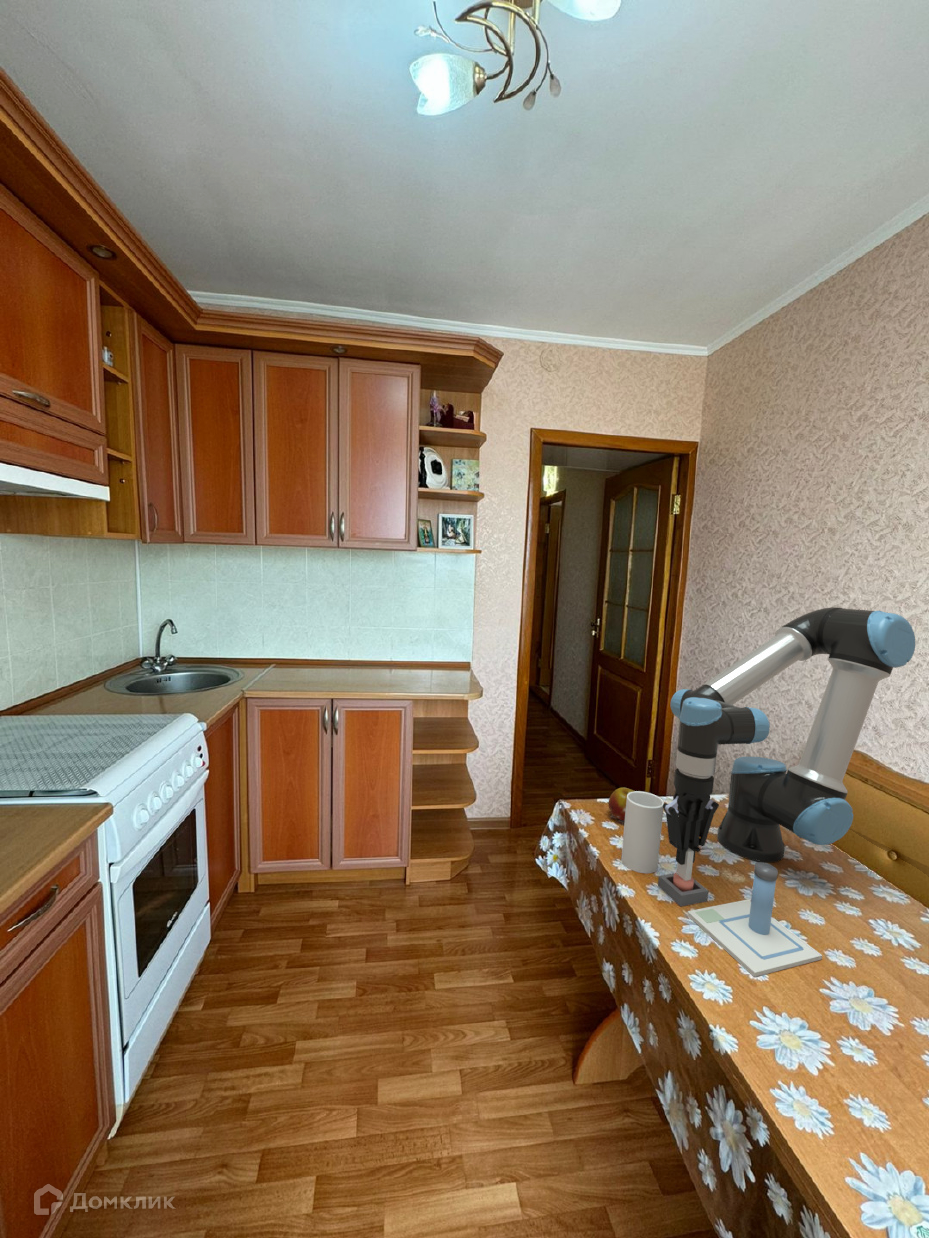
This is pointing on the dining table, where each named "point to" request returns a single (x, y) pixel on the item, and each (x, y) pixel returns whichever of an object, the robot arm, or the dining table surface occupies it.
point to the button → (683, 883)
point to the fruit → (619, 802)
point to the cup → (642, 832)
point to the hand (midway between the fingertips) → (683, 876)
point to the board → (753, 939)
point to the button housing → (686, 897)
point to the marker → (762, 898)
